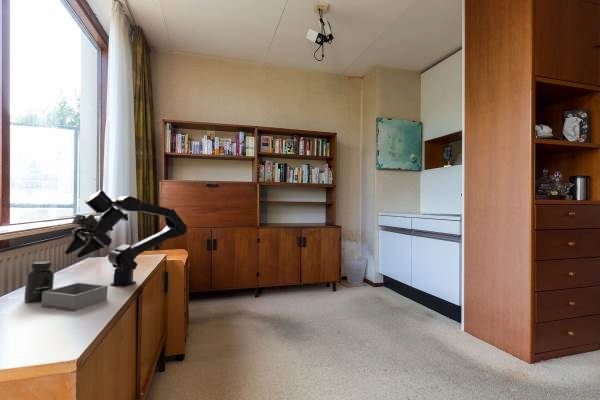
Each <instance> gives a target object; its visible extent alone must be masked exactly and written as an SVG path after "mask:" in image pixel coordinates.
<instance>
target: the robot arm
mask: <svg viewBox="0 0 600 400" xmlns="http://www.w3.org/2000/svg"><path fill="white" fill-rule="evenodd" d="M84 203H85V204H86V205H87V206H88V207H89V208H90V209H91V210H92V211H94V212H95V213H96V214H98V213H101V214H102V215H100V216H99V217H96V218H95V215H93V214H86V215H83V214H76V215H75V217H74V218H73V220H72V224H74V225H78V226H79V227H78V226H77V227H74V228H73V229H72V230H71V236H72V240H71V241H70V243H69V245H68V246H67V248H66V249H65V251H64V254H65V255H70V254H71V253H73V252H75V251H78V250H79V249H80V250H79V251H78V253H77V254H76V255H75V257H76V258H78V259H80V258H82V257H84V256H86V255H89V254H91V253H93V252H96V251H98V250H101V249H105V247H109V246H110V245H111V244H112V242H113V241H112V240H113V239H112V237H110V236H109V235H108V233H109V232H112V231H114V227H115V226H116V225H117V224H118V223H119V222H120V221H124V222H127V221H129V214H128V213H124V212H125V211H126V212H142V213H146V214H151V215H155V216H156V215H157V216H160V217H161V216H162V217H163V218H164V222H165V223H164V224H165V225H166V226H165V227H164V228H163V229H162V230H160V231H159V232H157V233H155V234H152V235H151V236H148V237H147V238H144V239H142V240H140V241H138V242H136V243H134V244H131V245H129V244H126V243H123V244H121V245H119V246H118V247H115V248H112V249H113V250H111V251H110V252H109V254H108V256H107V257H108V258H107V260H108V262H109V263H110V264H111V265H112V268H115V269H114V274H113V282H112V283H110V284H109V285H110V286H115V287H127V286H130V285H133V284H136V283H137V280H134V270H136V269H137V266H138V263H137V262H136V261H135V259H136V258H137V257H138V256H139V255H141V254H143V253H144V252H146V251H148V250H151V249H152V248H154V247H156V246H157V245H160V244H162V243H164V242H167V240H169V239H175V238H178V237H181V236H184V235H186V234H187V232H188V226H187V224H186V223H184V221H183V220H182V218H181V217H180V216H179V215H178V213H177V212H176V210H174V208H167V207H165V206H164V207H163V206H160V205H155V204H151V203H146V202H144V201H142V200H140V199H138V198H137V197H134V196H130V195H129V196H127V195H122V196H119V197H118V198H116V199H111V197H109V196H108V195H107V194H106V193H105V191H104V190H103V189H101V190H98V191H96V192H94V193H92V194H91V195H88V197H86V198H85V200H84ZM115 207H116V208H115ZM123 211H124V212H123ZM81 226H82V227H81Z"/></svg>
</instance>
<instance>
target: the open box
mask: <svg viewBox="0 0 600 400" xmlns="http://www.w3.org/2000/svg"><path fill="white" fill-rule="evenodd" d="M106 300H108V285H106V284H105V285H103V284H95V283H86V282H75V283H70V284H67V285H63V286H59V287H56V288H55V287H54V288H53V289H51V290H47V291H44V292H42V302H40V304H41V308H48V309H53V308H55V310H63V311H70V312H76V311H78V309H79V310H80V309H85V308H87V307H89V306H92V305H94V304H95V305H96V304H97V303H98V304H99V303H100V302H103V301H106ZM75 310H76V311H75Z"/></svg>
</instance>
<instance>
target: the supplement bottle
mask: <svg viewBox="0 0 600 400" xmlns="http://www.w3.org/2000/svg"><path fill="white" fill-rule="evenodd" d="M51 268H52V261H48V260H46V261H45V260H42V261H39V260H38V261H33V262H31V268H30V269H31V270H30V271H28V272H27V273H26V275H25V276H26V277H25V287H24V302H25V303H28V304H29V303H30V304H31V303H33V304H34V303H42V292H44V291H47V290H51V289H54V282H55V281H54V279H55V271H54V270H53V269H51Z"/></svg>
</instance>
